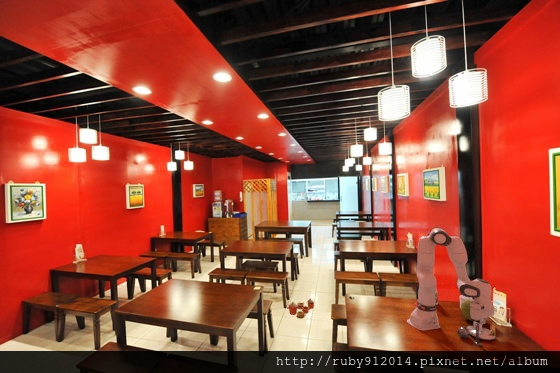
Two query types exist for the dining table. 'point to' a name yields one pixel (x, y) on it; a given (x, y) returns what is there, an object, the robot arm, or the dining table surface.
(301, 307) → the toy tea set
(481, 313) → the robot arm
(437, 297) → the milk bottle
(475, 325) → the dial stand
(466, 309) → the fruit
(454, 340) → the dining table surface
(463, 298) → the mug
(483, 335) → the turntable
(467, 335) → the grey rounded lump
